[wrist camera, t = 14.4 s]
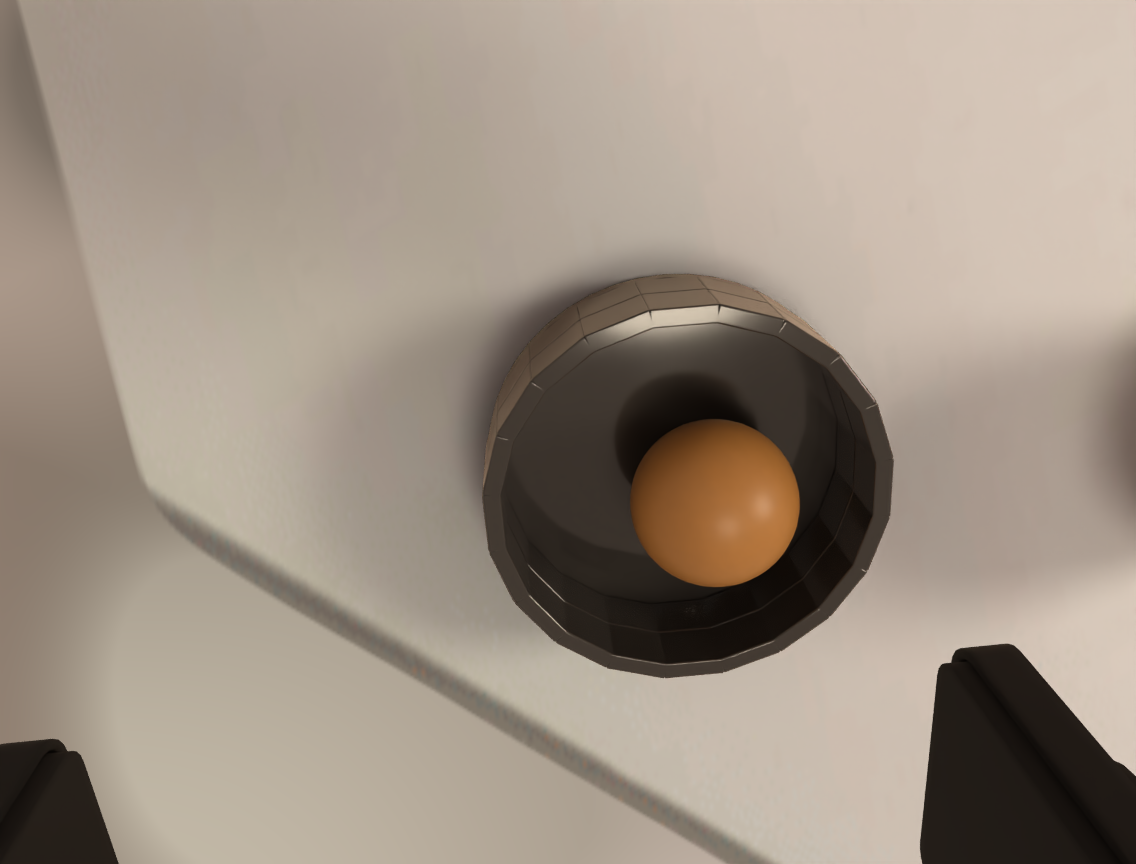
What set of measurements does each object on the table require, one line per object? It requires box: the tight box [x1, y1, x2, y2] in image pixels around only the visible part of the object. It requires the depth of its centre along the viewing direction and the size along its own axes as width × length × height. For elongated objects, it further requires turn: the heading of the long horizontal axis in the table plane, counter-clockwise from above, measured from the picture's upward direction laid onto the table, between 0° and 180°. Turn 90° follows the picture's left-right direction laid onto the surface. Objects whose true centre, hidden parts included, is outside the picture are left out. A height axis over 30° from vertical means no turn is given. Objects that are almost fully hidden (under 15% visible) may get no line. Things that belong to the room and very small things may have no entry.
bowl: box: [482, 274, 894, 678], centre depth 32 cm, size 13×13×4 cm
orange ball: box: [630, 419, 800, 587], centre depth 32 cm, size 6×6×6 cm
